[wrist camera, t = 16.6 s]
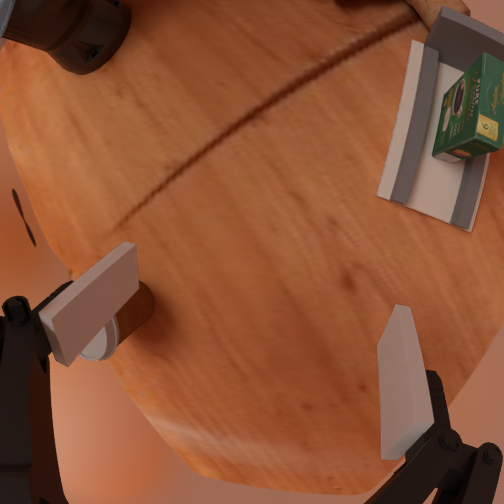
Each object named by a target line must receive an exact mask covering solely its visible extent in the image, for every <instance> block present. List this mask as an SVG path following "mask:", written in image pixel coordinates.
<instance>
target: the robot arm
mask: <svg viewBox="0 0 504 504" xmlns="http://www.w3.org/2000/svg"><path fill="white" fill-rule="evenodd" d="M130 20H131V13H130V9H129V6H128V5H127V4H126V3H125V2H124V1H122V0H0V38H1V37H2V38H5V39H8V40H12V41H15V42H18V43H21V44H24V45H27V46H30V47H33V48H36V49H40V50H42V51H45V52H47V53H48V54H49V55H50V56H51V57H52V58H53V59H54V60H55V61H56V62H57V63H58V64H59V65H60V66H61V67H62V68H63V69H65V70H66V71H69V72H72V73H74V74H80V75H81V74H87V73H90V72H92V71H94V70H95V69H97V68H99V67H100V66H101V65H103V64H104V63H105V62H106V61H107V60H108V59H109V58H110V57H111V56H112V55H113V54H114V53H115V51H116V50H117V49H118V47H119V46H120V44H121V43H122V41H123V39H124V38H125V36H126V33H127V31H128V28H129V25H130ZM138 289H139V280H138V267H137V252H136V244H132V243H128V242H123V243H121V244H120V245H119V246H118V247H116V248H115V249H114V250H113V251H111V252H110V253H109V254H107V255H106V256H105V257H104V258H102V259H101V260H100V261H99V262H97V263H96V264H95V265H94V266H93V267H91V268H90V269H89V270H88V271H86V272H85V273H84V274H83V275H82V276H80V277H79V278H78V279H77V280H76V281H72V280H71V281H69V282H67V283H65V284H63V285H61V286H60V287H59V288H58V289H56V290H55V292H53V293H52V294H51V295H50V296H49V297H47V298H46V299H45V300H44V301H42V302H41V303H40V304H39V305H38V306H37V307H35V308H34V309H33V310H32V311H31V309H30V305H29V303H28V300H27V299H26V298H25V297H23V296H14V297H11V298H9V299H7V300H6V301H5V302H4V303H3V305H2V309H3V312H4V315H5V317H3V316H0V504H69V503H68V501H67V499H66V498H65V495H64V492H63V489H62V483H61V478H60V472H59V466H58V461H57V454H56V447H55V438H54V431H53V420H52V408H51V392H50V362H49V357H48V355H49V354H50V353H51V352H53V355H54V357H55V360H56V361H57V362H59V363H61V364H63V365H65V366H67V367H69V366H70V364H71V363H72V362H73V361H74V360H75V358H76V357H77V356H78V355H79V354H80V353H81V352H82V351H83V349H84V348H85V347H86V346H87V345H88V344H89V343H90V342H91V340H92V339H93V338H94V337H95V336H96V335H97V334H98V333H99V331H100V330H101V329H102V328H103V327H104V326H105V325H106V324H107V323H108V321H109V320H110V319H111V318H112V317H113V316H114V315H115V314H116V313H117V312H118V310H119V309H120V308H121V307H122V306H123V305H124V304H125V303H126V302H127V301H128V300H129V299H130V298H131V296H132V295H133V294H134V293H135V292H136V291H137V290H138ZM377 357H378V372H379V390H380V418H381V459H386V460H399V459H400V458H401V457H402V456H403V455H404V454H405V458H406V462H405V463H404V464H403V465H402V466H401V467H400V468H398V469H397V470H396V471H395V472H394V474H393V475H392V477H391V478H390V479H389V480H388V481H387V482H386V483H385V484H384V485H383V486H382V487H381V488H380V489H379V490H378V491H377V492H376V493H375V494H374V495H373V496H371V497H370V498H369V499H368V500H367V501H366V502H365V503H364V504H423V503H424V501H425V500H426V499H427V498H428V496H429V495H430V494H431V492H432V491H433V490H434V489H435V488H438V490H437V492H436V495H435V497H434V499H433V501H432V504H492V502H493V499H494V495H495V491H496V487H497V484H498V479H499V475H500V471H501V466H502V461H503V456H502V453H501V450H500V449H499V447H498V446H496V445H495V444H494V443H490V442H488V443H484V444H482V445H481V446H480V447H479V448H475V447H472V446H469V445H467V444H464V443H462V440H461V438H460V436H459V434H458V433H457V432H456V431H455V430H453V429H451V426H450V420H449V414H448V409H447V404H446V400H445V394H444V392H443V391H444V390H443V385H442V381H441V379H440V377H439V376H438V374H437V373H436V371H431V370H425V367H424V363H423V358H422V353H421V349H420V344H419V340H418V336H417V332H416V328H415V324H414V320H413V316H412V312H411V309H410V307H408V306H403V305H399V304H396V305H395V307H394V309H393V312H392V314H391V316H390V318H389V321H388V323H387V325H386V327H385V330H384V332H383V334H382V336H381V338H380V340H379V342H378V345H377Z"/></svg>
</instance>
